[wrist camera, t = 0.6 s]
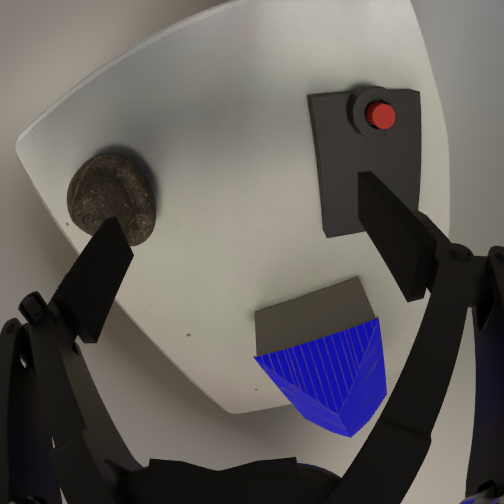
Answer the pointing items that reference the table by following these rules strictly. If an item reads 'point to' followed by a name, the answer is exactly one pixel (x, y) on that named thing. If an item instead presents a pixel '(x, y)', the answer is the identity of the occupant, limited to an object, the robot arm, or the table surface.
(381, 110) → the tare button
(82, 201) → the stone
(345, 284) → the house
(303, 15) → the table surface
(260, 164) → the table surface
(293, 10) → the table surface
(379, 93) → the scale
